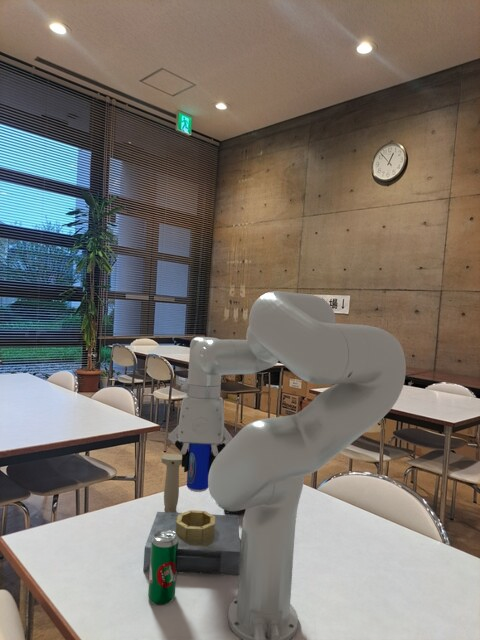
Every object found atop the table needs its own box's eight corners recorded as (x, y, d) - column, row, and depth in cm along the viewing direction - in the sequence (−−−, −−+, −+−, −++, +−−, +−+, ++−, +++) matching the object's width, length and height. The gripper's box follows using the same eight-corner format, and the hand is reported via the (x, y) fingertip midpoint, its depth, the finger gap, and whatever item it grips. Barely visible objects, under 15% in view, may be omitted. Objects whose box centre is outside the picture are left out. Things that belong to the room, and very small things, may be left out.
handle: (181, 515, 114) (185, 460, 114) (157, 515, 114) (160, 459, 113) (182, 507, 119) (185, 454, 119) (159, 507, 118) (162, 453, 118)
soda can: (153, 587, 84) (157, 527, 84) (178, 591, 84) (181, 530, 83) (143, 604, 79) (147, 540, 79) (170, 608, 79) (174, 544, 78)
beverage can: (184, 484, 99) (188, 420, 99) (205, 482, 101) (209, 419, 101) (189, 493, 94) (193, 426, 94) (211, 491, 96) (216, 425, 96)
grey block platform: (238, 578, 89) (240, 543, 89) (142, 574, 88) (144, 538, 88) (237, 535, 106) (238, 505, 106) (156, 531, 105) (157, 501, 105)
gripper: (163, 392, 93) (158, 475, 94) (241, 397, 94) (236, 479, 94) (168, 386, 101) (163, 462, 101) (240, 390, 101) (235, 466, 101)
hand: (198, 469), depth 97 cm, fingers closed on beverage can, 5 cm apart
